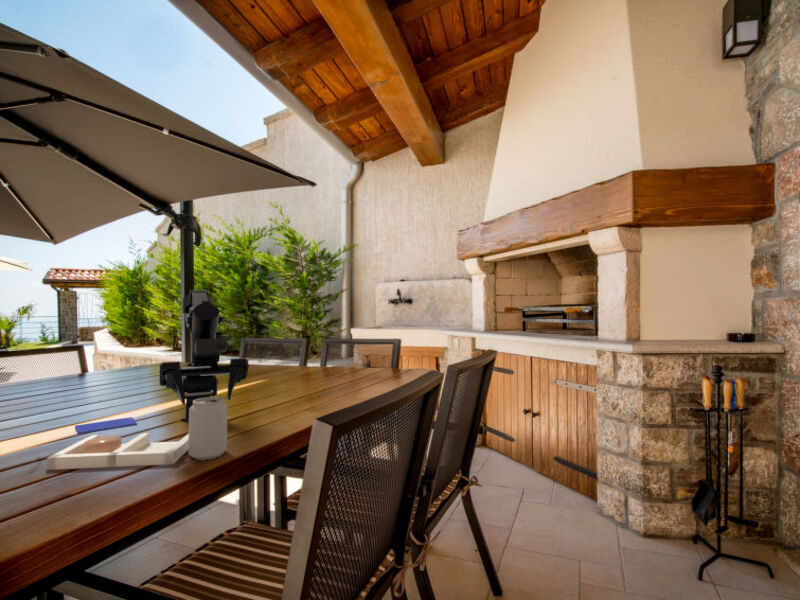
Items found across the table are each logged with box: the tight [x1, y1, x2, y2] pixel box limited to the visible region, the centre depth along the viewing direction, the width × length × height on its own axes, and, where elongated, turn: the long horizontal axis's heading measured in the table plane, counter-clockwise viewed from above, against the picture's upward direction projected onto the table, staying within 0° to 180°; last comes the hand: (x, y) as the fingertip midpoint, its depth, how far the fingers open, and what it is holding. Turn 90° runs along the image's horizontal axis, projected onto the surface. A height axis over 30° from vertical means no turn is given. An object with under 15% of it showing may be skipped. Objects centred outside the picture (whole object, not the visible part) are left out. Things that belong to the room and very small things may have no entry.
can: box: [187, 396, 228, 461], centre depth 86 cm, size 8×8×12 cm
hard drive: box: [74, 416, 138, 435], centre depth 105 cm, size 2×8×12 cm
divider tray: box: [46, 432, 189, 471], centre depth 85 cm, size 14×23×3 cm, turn 98°
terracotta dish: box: [84, 435, 123, 454], centre depth 85 cm, size 6×6×3 cm
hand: (207, 401), depth 90 cm, fingers open, 9 cm apart
